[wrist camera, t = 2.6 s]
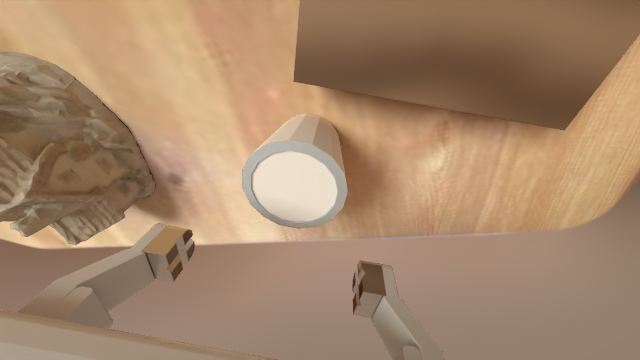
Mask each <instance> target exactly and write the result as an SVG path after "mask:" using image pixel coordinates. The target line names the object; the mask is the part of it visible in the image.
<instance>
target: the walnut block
mask: <svg viewBox="0 0 640 360" xmlns="http://www.w3.org/2000/svg"><path fill="white" fill-rule="evenodd" d="M639 34H640V0H300V7H299V20H298V32H297V45H296V57H295V70H294V82H299V83H304V84H310V85H315V86H321V87H327V88H332V89H338V90H343V91H349V92H354V93H360V94H365V95H371V96H377V97H382V98H388V99H393V100H399V101H404V102H410V103H415V104H421V105H427V106H432V107H438V108H443V109H449V110H454V111H460V112H466V113H471V114H477V115H482V116H488V117H493V118H499V119H504V120H510V121H516V122H521V123H527V124H532V125H538V126H543V127H549V128H554V129H560V130H565V129H566V128H567V127H568V125H569V124H570V123H571V121H572V120H573V119H574V118H575V116H576V115H577V114H578V112H579V111H580V110H581V109H582V107H583V106H584V105H585V104H586V102H587V101H588V100H589V98H590V97H591V96H592V95H593V93H594V92H595V91H596V89H597V88H598V87H599V86H600V84H601V83H602V82H603V80H604V79H605V78H606V77H607V75H608V74H609V73H610V72H611V70H612V69H613V68H614V66H615V65H616V64H617V63H618V61H619V60H620V59H621V57H622V56H623V55H624V54H625V52H626V51H627V50H628V48H629V47H630V46H631V45H632V43H633V42H634V41H635V40H636V38H637V37H638V36H639Z"/></svg>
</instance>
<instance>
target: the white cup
mask: <svg viewBox="0 0 640 360" xmlns="http://www.w3.org/2000/svg"><path fill="white" fill-rule="evenodd" d="M242 188H243V190H244V192H245V194H246V196H247V198H248V200H249V202H250V204H251V205H252V206H253V207H254V208H255V209H256V210H257V211H258V212H259V213H260V214H261V215H262V216H263V217H265V218H267V219H269V220H271V221H273V222H275V223H277V224H279V225H283V226H288V227H293V228H309V227H317V226H319V225H321V224H323V223H326V222H328V221H330V220H332V219H333V218H334V217H335V216H336V215H337V214H338V213H339V212H340V210H341V209H342V208H343V206H344V203H345V200H346V196H347V193H348V189H347V183H346V177H345V171H344V164H343V158H342V152H341V146H340V141H339V135H338V133H337V131H336V130H335V129H334V127H333V126H332V124H331V123H330V122H328V121H327V120H325V119H323V118H322V117H320V116H316V115H311V114H302V115H297V116H294V117H292V118H291V119H289V120H288V121H287V122H285V123H284V124H283V125H282V126H281V127H280V128H279V129H278V130H276V131H275V132H274V133H273V134H272V135H271V136H270V137H269V138H268V139H267V140H266V141H265V142H264V143H263V144H261V145H260V146H259V147H258V148H257V149H256V150H255V151H254V152H253V153H252V154H251V155H250V156H249V158H248V160H247V162H246V164H245V166H244V168H243V170H242Z"/></svg>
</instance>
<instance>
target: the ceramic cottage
mask: <svg viewBox="0 0 640 360" xmlns="http://www.w3.org/2000/svg"><path fill="white" fill-rule="evenodd" d="M74 79H75V77H73V76H72V75H71V74H70V73H68V72H66V71H65V70H63V69H61V68H60V67H58V66H57V65H55V64H52V63H50V62H48V61H45V60H42V59H39V58H36V57H34V56H30V55H27V54H21V53H17V52H1V53H0V222H2V221H16V222H14V223H11V224H10V229H14V230H17V231H19V232H20V233H21V236H24V237H28V236H30V235H32V234H34V233H36V232H38V231H40V230H41V229H43V228H45V227H46V226H48V225H49V226H51V227H53V228H54V229H55V230H56V231H58V232H59V233H60V234H61V235H62V236H63V237H64V238H65V239H66V241H67V243H68V244H74V245H77V244H78V243H80V242H82V241H86V240H88V239H89V238H91V237H92V236H93V235H95V234H97V233H99V232H101V231H103V230H104V229H106V228H108V227H110V226H111V225H113V224H115V223H117V222H118V221H120V220H122V219H123V218H125V214H124V212H125V211H126V210H127V209H128V208H129V207H130V206H131V205H132V203H133V202H134V201H137V200H140V199H142V198H146V197H148V196H150V195H151V194H153V192H154V191H155V188H156V185H155V180H154V179H152V177H153V176H152V174H151V175H150V173H149V171H150V170H149V168H148V165H147V163H146V161H145V160H144V159H143V156H142V154H141V153H140V148H139V147H137V145H136V144H137V142H136V140H135V139H134V138H133V137H132V134H131V133H130V131H129V130H128V129H127V128H126V126H125V125H124V124H123V123H122V122H121V121H119V119H118V117H116V116H115V114H114V113H112V112H111V111H110V110H109V109H108V108H107V107H105V106H103V103H102V101H101V100H99V99H98V98H97V97H96V95H94V94H93V93H92V92H91V91H90V90H89V89H88V88H86V87H85V86H84V85H83V84H80V82H78V81H76V80H74ZM21 218H22V219H21Z"/></svg>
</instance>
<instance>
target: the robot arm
mask: <svg viewBox="0 0 640 360" xmlns="http://www.w3.org/2000/svg"><path fill="white" fill-rule="evenodd" d="M192 235H193V234H192V230H189V229H184V228H179V227H175V226H170V225H165V224H160V223H158V224H156V225H154V226H153V227H152V228H151V229H150V230H149V231H148V232H147V233H146V234H145V235H144V236H143V237H142V238H141V239H140V240H139V241H138V242H137V243H136V244H135V245H134V246H133V247H132V248H131V249H130V250H129V249H126V250H123V251H121V252H119V253H116V254H114V255H112V256H109V257H107V258H105V259H103V260H100V261H98V262H96V263H94V264H91V265H89V266H87V267H84V268H82V269H80V270H78V271H75V272H73V273H71V274H69V275H66V276H64V277H62V278H59V279H57V280H55V281H54V282H53V283H52V284H50V285H49V286H48V287H47V288H46V289H44V290H43V291H42V292H41V293H40V294H38V295H37V296H36V297H35V298H34V299H32V300H31V301H30V302H29V303H28V304H26V305H25V306H24V307H23V308H22V309H20V311H18V312H13V311H8V310H2V309H0V360H276V359H271V358H266V357H260V356H254V355H249V354H244V353H238V352H232V351H227V350H222V349H216V348H211V347H205V346H200V345H194V344H188V343H183V342H178V341H172V340H167V339H161V338H156V337H150V336H145V335H139V334H134V333H129V332H123V331H118V330H112V329H109V328H110V326H111V325H112V324H113V319H112V318H111V316H110V315H109V313H108V311H110V310H111V309H112V308H114V307H116V306H117V305H119V304H120V303H121V302H123V301H124V300H126V299H127V298H129V297H130V296H132V295H133V294H135V293H136V292H138V291H139V290H141V289H142V288H144V287H145V286H147V285H148V284H150V283H151V282H153V281H154V280H155V279H159V280H166V281H175V279H176V278H177V277H178V275H179V274H180V272H181V271H182V270H183V266H182V264H184V263H186V262H188V261H189V260H190V258H191V257H192V255H193V252H194V248H195V244H194V241H193V240H192V239H191V237H192ZM357 267H358V270H357V271H355V273H354V277H353V289H352V290H353V292H354V294H355V296H354V298H353V315H358V316H363V317H368V318H372V319H371V320H372V322H373V323H374V326H375V327H376V329H377V331H378V333H379V335H380V337H381V339H382V340H383V342H384V344H385V346H386V348H387V350H388V351H389V354H390V355H391V357H392V359H393V360H445V357H444V354H443V351H442V350H441V349H440V347H439V346H438V345H437V343H436V342H435V341H434V340H433V338H432V337H431V336H430V334H429V333H428V332H427V331H426V329H425V328H424V327H423V326H422V324H421V323H420V322H419V320H418V319H417V318H416V317H415V315H414V314H413V313H412V311H411V310H410V309H409V308H408V306H407V305H406V304H405V303H404V301H402V300H401V299H399V297H398V292H397V287H396V283H395V278H394V273H393V268H392V267H391V266H388V265H383V264H378V263H372V262H366V261H361V260H360V261H359V263H358V265H357Z"/></svg>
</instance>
